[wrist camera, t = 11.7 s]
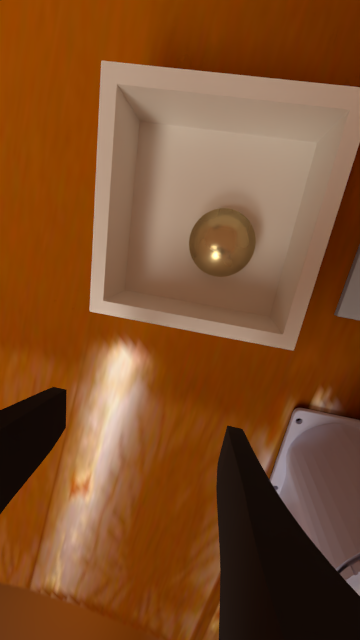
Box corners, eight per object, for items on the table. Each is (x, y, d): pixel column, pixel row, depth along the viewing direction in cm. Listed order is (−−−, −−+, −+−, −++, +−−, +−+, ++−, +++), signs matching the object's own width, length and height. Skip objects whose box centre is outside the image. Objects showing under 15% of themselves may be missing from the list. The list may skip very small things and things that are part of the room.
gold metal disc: (236, 283, 17) (238, 286, 16) (182, 261, 17) (179, 262, 16) (263, 224, 16) (267, 223, 15) (204, 201, 16) (203, 197, 15)
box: (275, 326, 18) (293, 350, 14) (117, 296, 19) (89, 311, 15) (330, 134, 15) (376, 89, 11) (132, 110, 16) (101, 60, 12)
